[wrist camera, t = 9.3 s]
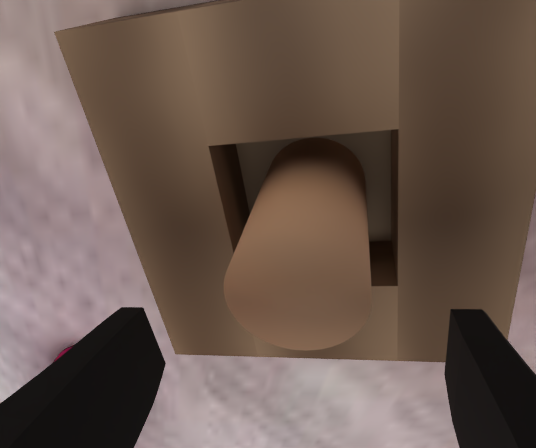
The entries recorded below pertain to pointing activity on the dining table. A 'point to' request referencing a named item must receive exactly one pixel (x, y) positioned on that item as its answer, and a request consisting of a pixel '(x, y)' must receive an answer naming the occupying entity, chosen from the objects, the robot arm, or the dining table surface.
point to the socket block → (329, 127)
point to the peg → (305, 251)
